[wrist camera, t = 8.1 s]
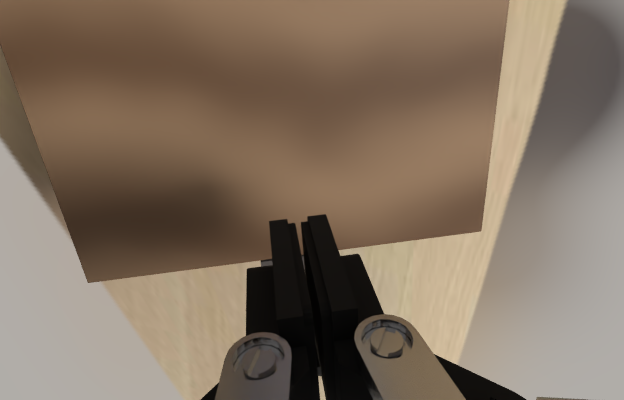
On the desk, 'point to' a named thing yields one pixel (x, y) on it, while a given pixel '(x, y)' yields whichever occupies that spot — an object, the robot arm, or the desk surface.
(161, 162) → the lid
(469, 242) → the desk surface
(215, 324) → the desk surface
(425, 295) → the desk surface
